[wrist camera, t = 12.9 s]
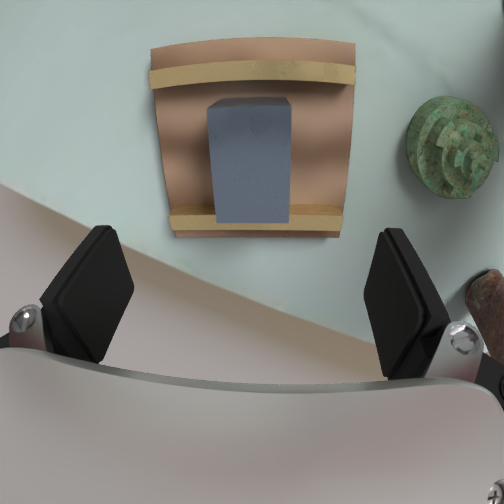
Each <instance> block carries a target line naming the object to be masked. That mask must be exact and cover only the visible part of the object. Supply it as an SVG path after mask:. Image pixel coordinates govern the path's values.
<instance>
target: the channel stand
mask: <svg viewBox="0 0 504 504" xmlns="http://www.w3.org/2000/svg"><path fill="white" fill-rule="evenodd" d="M151 63H152V71H149V81H150V89H154V97H155V107H156V116H157V124H158V132H159V140H160V147H161V155H162V161H163V168H164V175H165V181H166V187H167V193H168V199H169V205H170V210H171V212H170V214H169V221H170V226H171V230H174V232H175V237H326V238H339V235H340V231H341V228H342V221H343V208H344V201H345V193H346V185H347V176H348V167H349V157H350V147H351V135H352V122H353V106H354V86H355V85H356V66H355V44H354V43H347V42H339V41H330V40H319V39H306V38H281V37H256V38H232V39H218V40H208V41H199V42H191V43H183V44H177V45H170V46H165V47H159V48H154V49H151ZM236 97H286V98H287V100H288V101H289V103H290V105H291V106H292V121H291V175H290V206H289V223H217V222H216V213H215V203H214V192H213V182H212V171H211V160H210V148H209V136H208V123H207V110H206V109H207V108H208V107H209V106H211V105H212V104H214V103H215V102H217V101H218V100H219V99H221V98H236Z"/></svg>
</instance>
